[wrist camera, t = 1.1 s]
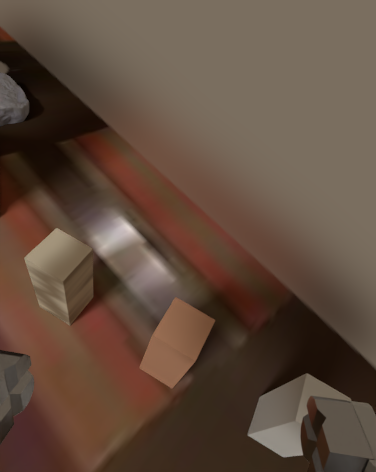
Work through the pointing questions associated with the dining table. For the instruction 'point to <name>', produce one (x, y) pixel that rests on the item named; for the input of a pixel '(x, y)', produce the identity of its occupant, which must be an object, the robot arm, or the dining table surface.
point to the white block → (287, 414)
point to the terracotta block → (176, 342)
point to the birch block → (62, 275)
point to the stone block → (12, 101)
